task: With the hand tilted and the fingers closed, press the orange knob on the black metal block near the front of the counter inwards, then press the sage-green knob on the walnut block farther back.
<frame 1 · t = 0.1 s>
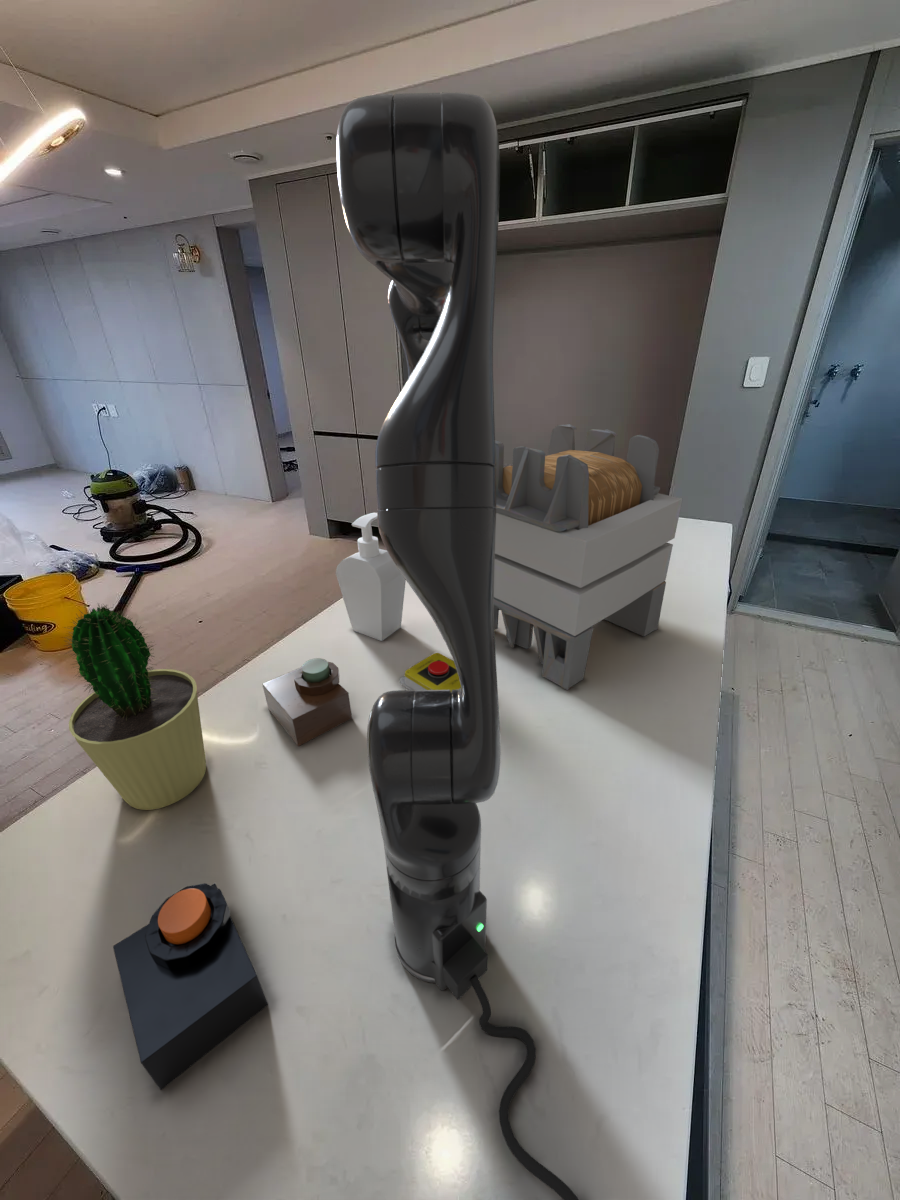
hand: (438, 501, 91), 31 cm above the table, tool tilted 20°, fingers open, 8 cm apart
soap bottle: (379, 627, 114), on the table
knob back: (315, 670, 86), point 8 cm above the table, slide at 0.1 cm
block back: (309, 713, 89), on the table
knob front: (185, 915, 51), point 8 cm above the table, slide at 0.1 cm
potted cactus: (167, 779, 77), on the table
transformer: (551, 626, 113), on the table
emergency button: (443, 688, 94), on the table
block front: (198, 989, 52), on the table
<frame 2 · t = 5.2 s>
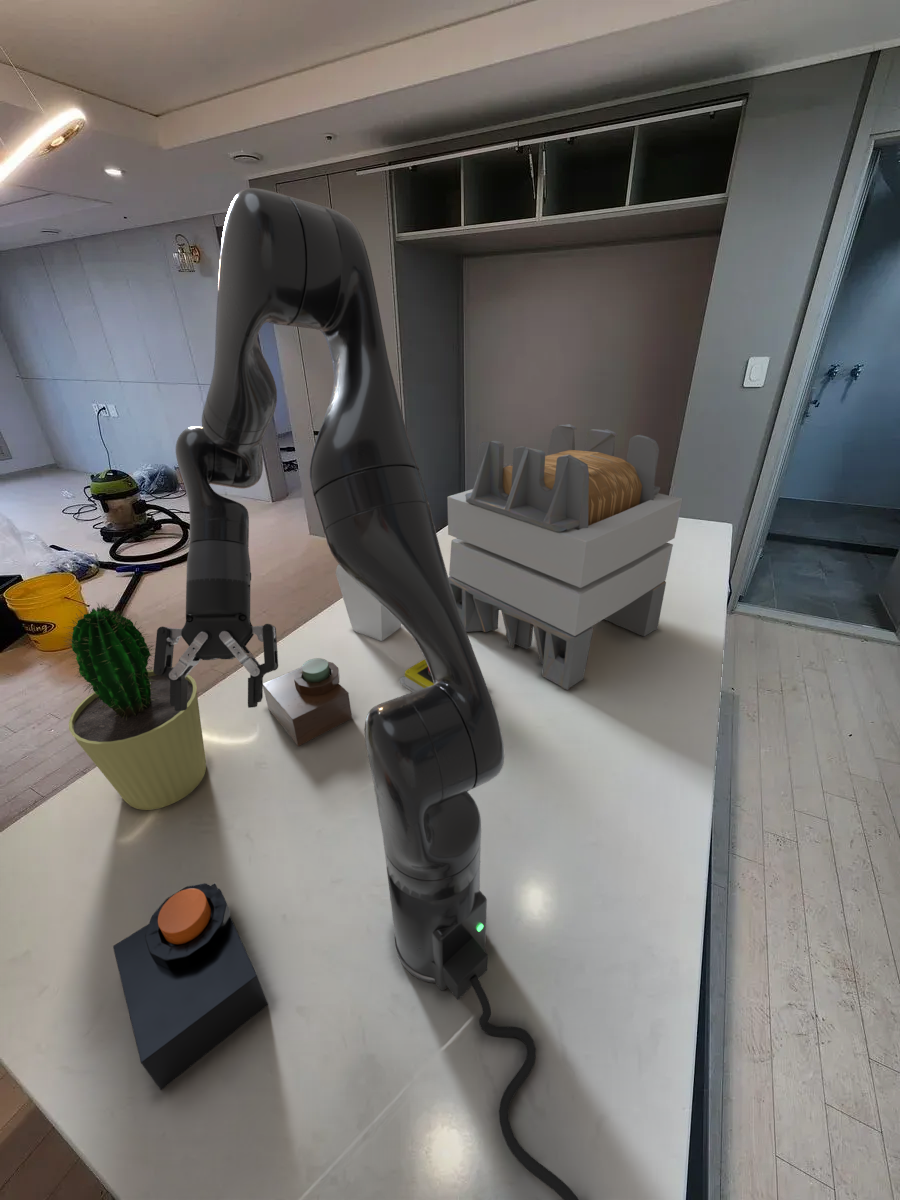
hand: (217, 708, 63), 18 cm above the table, tool tilted 35°, fingers open, 8 cm apart
nothing on the table moved.
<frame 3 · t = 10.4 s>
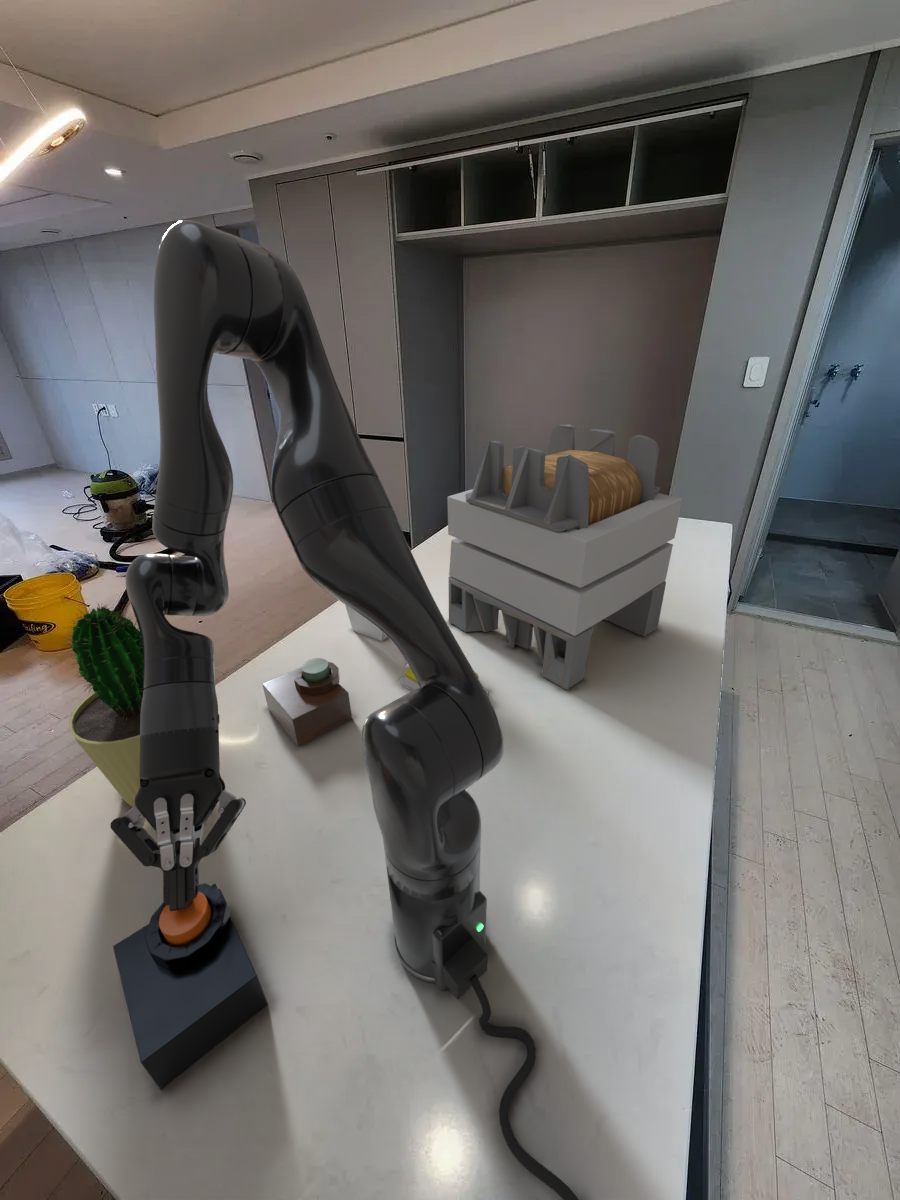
hand: (181, 907, 50), 9 cm above the table, tool tilted 45°, fingers closed
knob front: (186, 917, 51), point 8 cm above the table, slide at -0.3 cm, touching gripper
everything else where it was.
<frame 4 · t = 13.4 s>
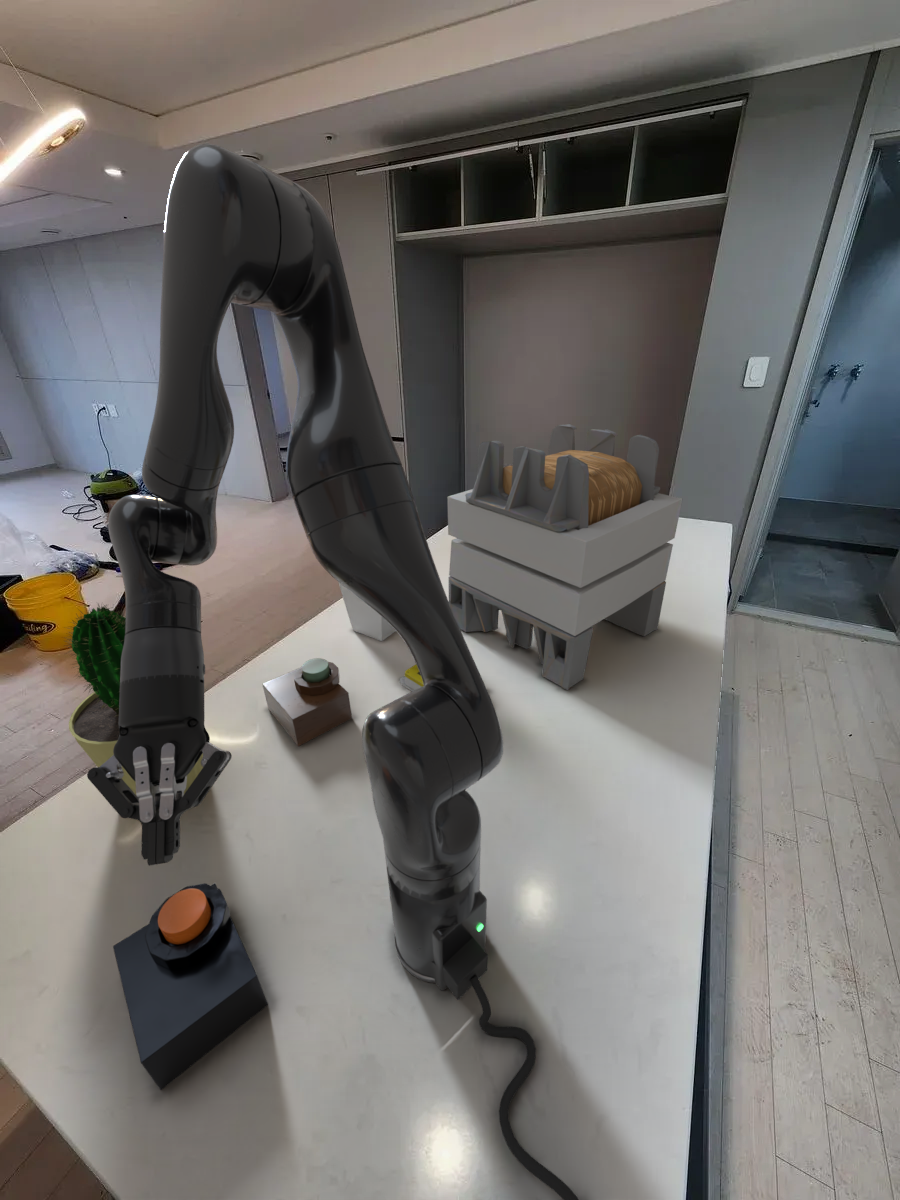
hand: (161, 862, 47), 16 cm above the table, tool tilted 45°, fingers closed
knob front: (185, 915, 51), point 8 cm above the table, slide at 0.1 cm
everything else where it was.
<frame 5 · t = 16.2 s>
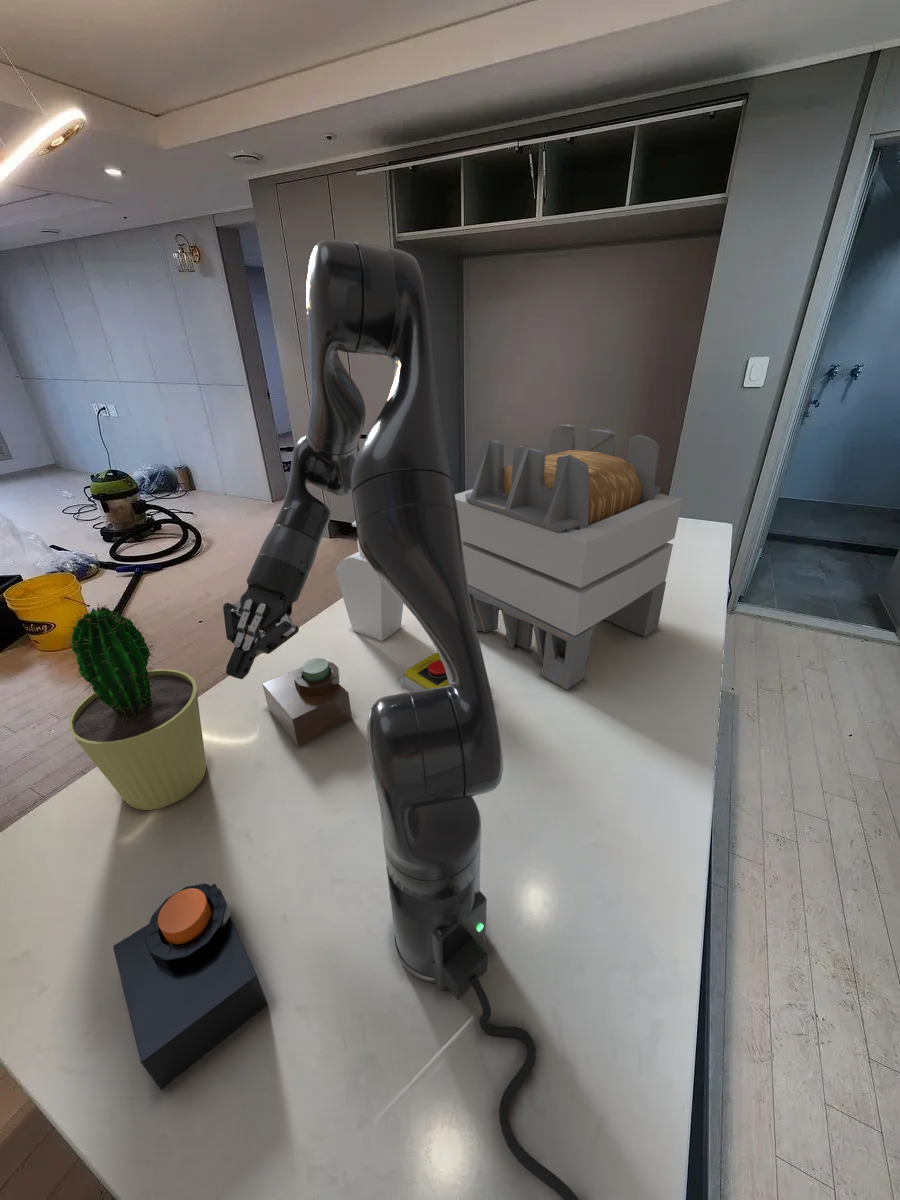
hand: (234, 676, 70), 17 cm above the table, tool tilted 45°, fingers closed
nothing on the table moved.
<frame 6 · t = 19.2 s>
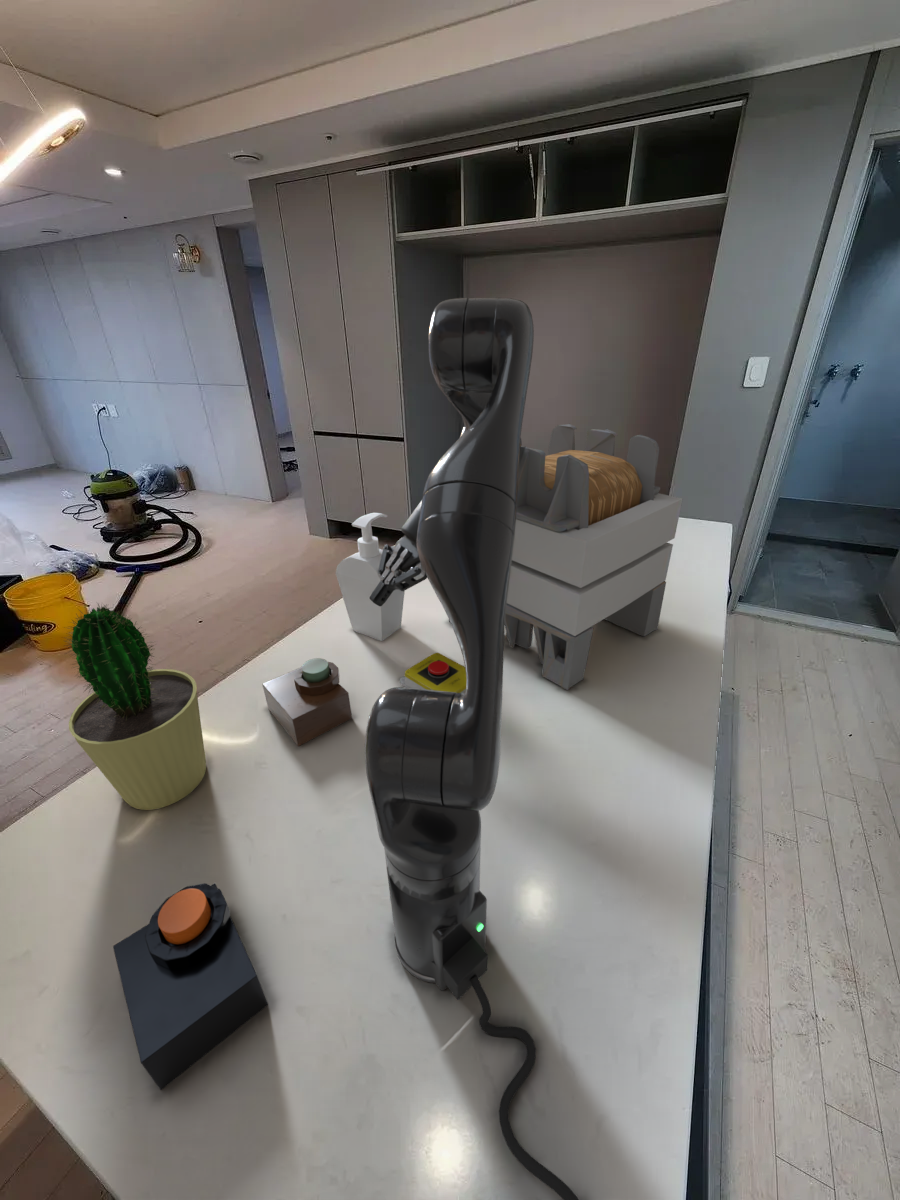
hand: (374, 602, 87), 18 cm above the table, tool tilted 45°, fingers closed
nothing on the table moved.
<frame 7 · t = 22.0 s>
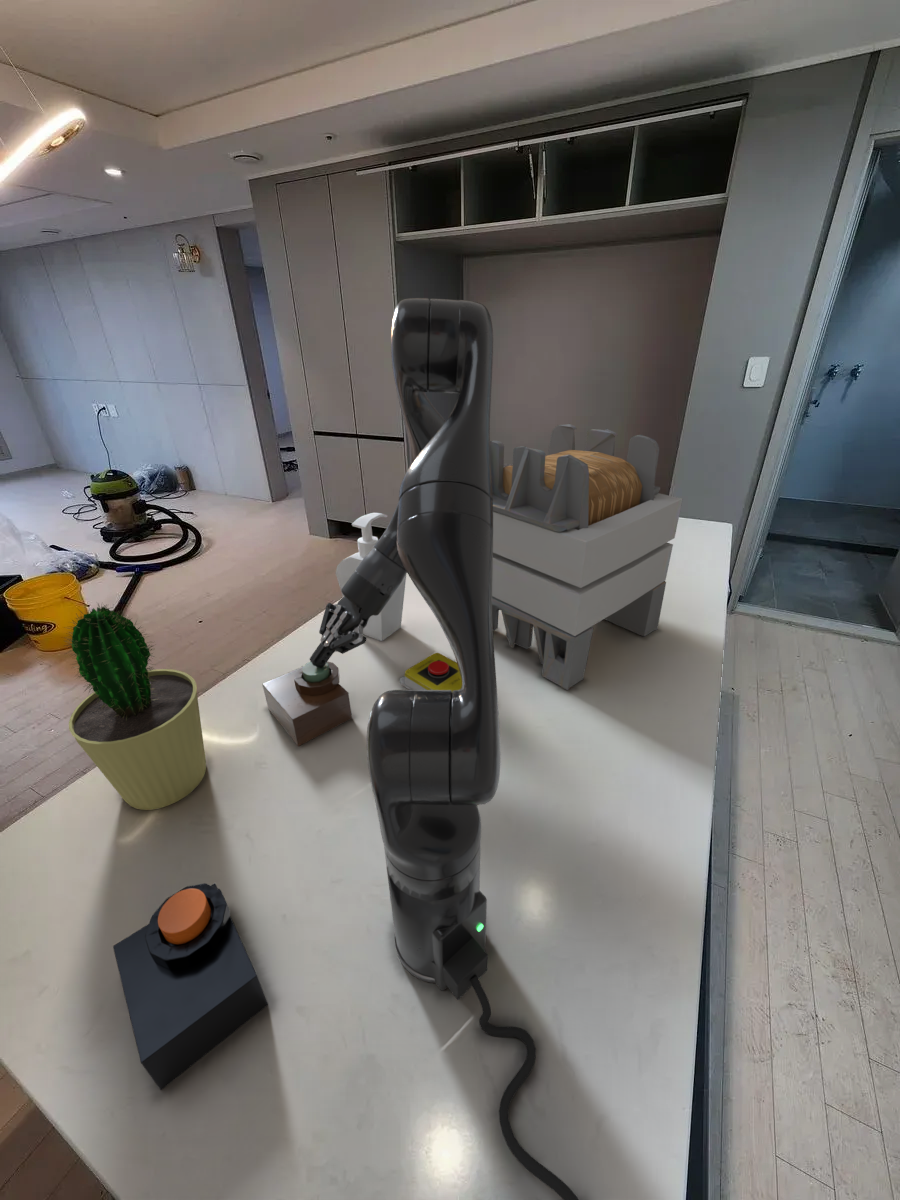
hand: (315, 664, 86), 9 cm above the table, tool tilted 45°, fingers closed
knob back: (316, 672, 86), point 8 cm above the table, slide at -0.3 cm, touching gripper
everything else where it was.
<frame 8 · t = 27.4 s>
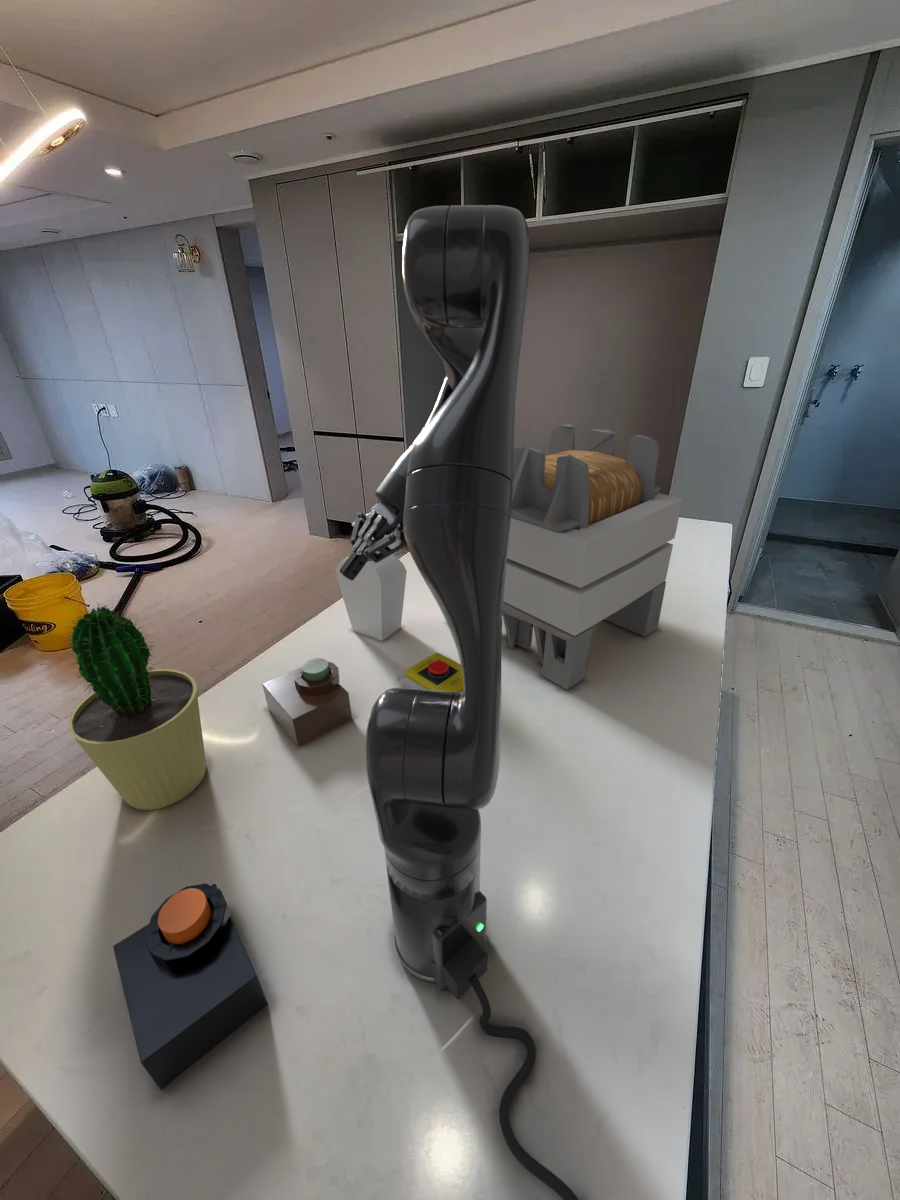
hand: (345, 576, 77), 26 cm above the table, tool tilted 45°, fingers closed
knob back: (315, 670, 86), point 8 cm above the table, slide at 0.1 cm
everything else where it was.
at the end: knob front pushed in 1.3 cm at the most during the clip, back to where it started at the end; knob back pushed in 1.3 cm at the most during the clip, back to where it started at the end; knob back slide at 0.1 cm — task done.
